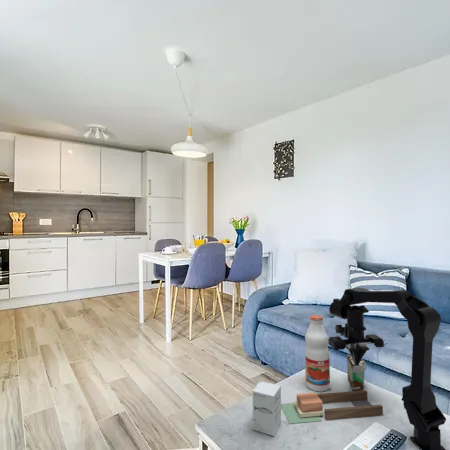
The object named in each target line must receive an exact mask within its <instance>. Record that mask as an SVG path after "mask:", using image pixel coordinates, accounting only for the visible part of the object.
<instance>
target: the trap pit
mask: <svg viewBox="0 0 450 450" xmlns="http://www.w3.org/2000/svg"><path fill="white" fill-rule="evenodd" d="M350 403H351V404H352V406H353V407H355V406H367V405H373V404H372V403H371V402H370V401H369V400H361V401H350Z"/></svg>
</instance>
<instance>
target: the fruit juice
mask: <svg viewBox="0 0 450 450" xmlns="http://www.w3.org/2000/svg"><path fill="white" fill-rule="evenodd" d="M323 319H324V317H323V316H322V315H320V314H311V315H310V316H309V321H310V323H309V325H308V328H307V331H306V333H305V336H304V341H305V344H306V345H305V348H304V363H305V364H304V366H305V372H304V373H305V385H306V387H307V388H308V389H309V390H311V391H315V392H319V393H322V392H327V391H329V389H330V388H331V387H330V386H331V371H330V370H331V369H330V364H331V363H330V362H331V361H330V350H329V348H328V347H329V344H328V339H329V335H328V334H327V332H326V330H325V327H324V325H323Z"/></svg>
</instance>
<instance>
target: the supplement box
mask: <svg viewBox="0 0 450 450" xmlns="http://www.w3.org/2000/svg"><path fill="white" fill-rule="evenodd" d="M281 395H282V385H280V384H276V383H270V382H266V381H262V380H260V381H259V382H258V383H257V385H255V387H254V388H253V390H252V430H253V431H257V432H260V433H263V434H266V435H269V436H272V437H275V436H276V434H277V432H278V430H279V428H280V426H281V424H282V407H281V404H282V399H281V398H282V396H281Z"/></svg>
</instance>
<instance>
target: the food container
mask: <svg viewBox="0 0 450 450" xmlns="http://www.w3.org/2000/svg"><path fill="white" fill-rule="evenodd" d="M346 362H347V363H346V364H347V365H346V366H347V367H346V368H347V369H346V371H347V380H348V383H349V386H350V388H351V391H361V390H364V387H365V384H364V383H365V371H367V364H366V361H365V360H364V359H363V358H362V359H361V361H360V363H359V365H358V366H356V365H355V364H354V362H353V359H352V356H351V354H346Z"/></svg>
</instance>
